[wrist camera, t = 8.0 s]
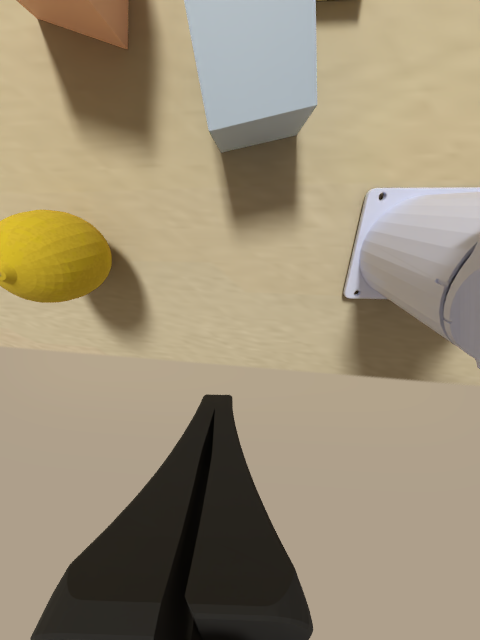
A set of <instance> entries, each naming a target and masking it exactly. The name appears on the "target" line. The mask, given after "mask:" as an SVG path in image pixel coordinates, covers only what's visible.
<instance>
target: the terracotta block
mask: <svg viewBox="0 0 480 640" xmlns="http://www.w3.org/2000/svg"><path fill="white" fill-rule="evenodd" d="M17 1H18V2H19V3H20V4H21V5H22V6H23V7H25V8H26V9H27V10H28V11H29V12H30V13H31V14H33V15H34V16H35V17H36V18H37V19H40V20H43V21H46V22H49V23H51V24H54V25H57V26H60V27H63V28H66V29H69V30H72V31H75V32H78V33H81V34H83V35H86V36H89V37H92V38H95V39H98V40H101V41H104V42H107V43H110V44H112V45H115V46H118V47H121V48H124V49H127V50H128V5H129V0H17Z"/></svg>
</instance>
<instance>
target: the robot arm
mask: <svg viewBox="0 0 480 640" xmlns="http://www.w3.org/2000/svg"><path fill="white" fill-rule="evenodd" d="M380 193H383V194H384V197H383V199H382V200H379V195H380ZM357 290H359V292H358V293H357V294H355V295H354V292H355V291H357ZM343 294H344V296H345V297H347V298H349V299H389V300H390V301H392V302H393V303H395V304H396V305H398V306H399V307H400V308H402V309H403V310H405V311H406V312H408V313H409V314H411V315H412V316H414V317H415V318H416V319H418V320H419V321H421V322H422V323H424V324H425V325H427V326H428V327H430V328H431V329H432V330H434V331H435V332H437V333H438V334H440V335H441V336H443V337H444V338H446V339H447V340H448V341H450V342H451V343H453V344H455V345H456V346H457V347H459V348H460V349H461V350H463V351H464V352H466V353H467V354H469V355H470V356H472V357H473V358H475V360H476V362H477V367H478V368H479V369H480V188H374V189H371V190H369V191H368V192H367V194H366V196H365V200H364V204H363V209H362V213H361V217H360V222H359V226H358V231H357V235H356V239H355V244H354V248H353V252H352V257H351V261H350V265H349V270H348V274H347V278H346V283H345V287H344V292H343ZM312 632H313V624H312V620H311V616H310V611H309V608H308V604H307V602H306V598H305V596H304V593H303V590H302V587H301V585H300V582H299V579H298V576H297V573H296V571H295V568H294V566H293V564H292V562H291V560H290V558H289V557H288V555H287V553H286V551H285V549H284V547H283V545H282V543H281V541H280V539H279V537H278V535H277V533H276V531H275V529H274V527H273V525H272V523H271V521H270V519H269V517H268V514H267V512H266V510H265V508H264V506H263V503H262V501H261V499H260V496H259V494H258V492H257V490H256V487H255V485H254V482H253V480H252V477H251V475H250V472H249V469H248V467H247V464H246V461H245V458H244V455H243V452H242V448H241V445H240V442H239V438H238V434H237V431H236V427H235V422H234V416H233V410H232V396H230V395H205V396H204V397H203V399H202V402H201V404H200V406H199V407H198V409H197V411H196V414H195V415H194V417H193V419H192V420H191V422H190V424H189V426H188V427H187V429H186V430H185V432H184V434H183V435H182V437H181V438H180V440H179V441H178V443H177V444H176V446H175V447H174V449H173V450H172V452H171V453H170V455H169V456H168V457H167V459H166V460H165V461H164V463H163V464H162V466H161V467H160V468H159V469H158V471H157V472H156V473H155V475H154V476H153V477H152V478H151V479H150V481H149V482H148V483H147V484H146V485H145V487H144V488H143V489H142V490H141V492H140V493H139V494H138V495H137V496H136V497H135V498H134V499H133V501H132V502H131V503H130V504H129V505H128V506H127V507H126V508H125V509H124V510H123V511H122V512H121V514H120V515H119V516H118V517H117V518H116V519H115V520H114V521H113V522H112V523H111V524H110V526H108V528H107V529H105V531H104V532H103V533H102V534H100V535H99V537H97V538H96V539H95V540H94V542H93V543H91V544H90V545H89V546H88V547H87V548H86V549H85V550H84V551H83V552H82V553H81V554H80V555H79V556H78V557H77V558H76V559H75V560H74V561H73V562H72V563H71V564H70V565H69V567H68V568H67V570H66V572H65V574H64V575H63V577H62V579H61V580H60V582H59V584H58V585H57V587H56V589H55V591H54V592H53V594H52V596H51V598H50V600H49V602H48V604H47V606H46V608H45V610H44V612H43V614H42V616H41V618H40V620H39V622H38V624H37V626H36V628H35V630H34V632H33V634H32V636H31V640H309V638H310V636H311V634H312Z"/></svg>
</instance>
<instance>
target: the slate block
mask: <svg viewBox="0 0 480 640" xmlns="http://www.w3.org/2000/svg"><path fill="white" fill-rule="evenodd" d="M184 2H185V8H186V13H187V18H188V24H189V29H190V34H191V39H192V45H193V50H194V55H195V60H196V66H197V71H198V76H199V82H200V87H201V92H202V97H203V103H204V108H205V113H206V118H207V124H208V129H209V132H210V134H211V136H212V138H213V139H214V141H215V143H216V145H217V147H218V148H219V150H220V152H221V153H222V152H226V151H231V150H235V149H239V148H244V147H248V146H252V145H256V144H261V143H265V142H269V141H274V140H278V139H282V138H287V137H291V136H295V135H297V134H298V132H299V131H300V129H301V128H302V126H303V125H304V123H305V122H306V121H307V119H308V118H309V116H310V115H311V113H312V112H313V110H314V109H315V107H316V106H317V58H316V0H184Z"/></svg>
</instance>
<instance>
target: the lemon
mask: <svg viewBox="0 0 480 640" xmlns="http://www.w3.org/2000/svg"><path fill="white" fill-rule="evenodd" d="M111 265H112V255H111V251H110V248H109V245H108V243H107V241H106V240H105V238H104V237H103V235H102V234H101V233H100V232H99V231H98V230H97V229H96V228H95V227H94V226H93V225H91V224H90V223H88V222H86V221H85V220H83V219H81V218H79V217H77V216H74V215H71V214H69V213H65V212H60V211H51V210H34V211H29V212H23V213H18V214H15V215H12V216H10V217H7V218H5V219H3V220H2V221H0V286H1V287H3V288H4V289H6V290H7V291H9V292H11V293H12V294H14V295H17V296H19V297H21V298H24V299H27V300H31V301H36V302H63V301H68V300H72V299H75V298H79V297H82V296H84V295H87V294H88V293H90V292H92V291H93V290H95V289H96V288H98V287H99V286H100V285H101V284H102V283H103V282H104V280H105V279H106V278H107V276H108V275H109V272H110V269H111Z"/></svg>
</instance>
